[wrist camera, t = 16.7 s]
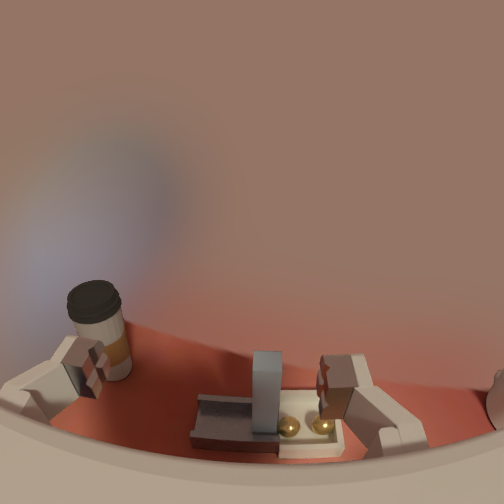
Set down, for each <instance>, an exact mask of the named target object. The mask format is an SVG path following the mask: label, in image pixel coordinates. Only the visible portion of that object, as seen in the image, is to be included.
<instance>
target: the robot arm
mask: <svg viewBox="0 0 504 504" xmlns="http://www.w3.org/2000/svg"><path fill="white" fill-rule="evenodd" d="M104 349H105V347H104V344H103V342H102V341H100V340H95V339H89V338H84V337H77V336H72V335H68V336H66V338H65V339H64V340H63V342H62V343H61V345H60V346H59V348H58V349H57V351H56V352H55V354H54V355H53V357H52V358H51V359H50V361H48V360H46V361H44V362H43V363H41V364H39V365H37V366H35V367H33V368H32V369H30V370H28V371H26V372H24V373H22V374H20V375H19V376H17V377H15V378H14V379H11V380H9V381H8V382H6V383H5V384H4V386H3V387H2V388H1V390H0V504H504V369H503V370H499V371H497V373H496V374H495V376H494V384H493V386H492V388H491V389H490V391H489V392H488V395H487V399H486V408H487V412H488V416H489V418H490V420H491V422H492V424H493V425H494V427H495V428H496V429H497V430H495V431H492V432H489V433H486V434H482V435H479V436H476V437H473V438H469V439H466V440H462V441H458V442H454V443H451V444H447V445H442V446H438V447H434V448H429V444H428V441H427V438H426V435H425V432H424V429H423V426H422V423H421V421H420V420H418V419H417V418H416V417H415V416H413V415H412V414H411V413H410V412H408V411H407V410H406V409H405V408H404V407H402V406H401V405H400V404H399V403H397V402H396V401H395V400H394V399H393V398H391V397H390V396H389V395H388V394H386V393H385V392H384V391H383V390H382V389H380V388H379V387H378V386H373V383H372V379H371V376H370V372H369V369H368V366H367V363H366V359H365V356H364V355H363V354H344V355H343V354H342V355H322V356H321V359H320V370H319V371H318V374H317V382H316V390H317V396H318V397H319V398H320V400H319V404H318V408H319V416H320V420H335V419H343V421H344V422H345V423H346V425H347V426H348V427H349V428H350V429H351V430H352V432H353V433H354V434H355V435H356V436H357V437H358V439H359V440H360V441H361V442H362V443H363V444H364V445H365V447H366V448H367V449H368V451H367V453H366V454H365V456H364V458H363V459H362V460H352V461H341V462H327V463H307V464H257V463H236V462H222V461H211V460H202V459H193V458H185V457H178V456H171V455H165V454H159V453H153V452H148V451H143V450H138V449H133V448H128V447H124V446H119V445H115V444H111V443H107V442H103V441H99V440H95V439H92V438H88V437H84V436H81V435H78V434H74V433H71V432H68V431H65V430H62V429H59V428H56V427H53V426H52V425H51V424H50V422H49V421H50V420H51V419H52V418H53V417H55V416H56V415H57V414H58V413H60V412H61V411H62V410H63V409H65V408H66V407H67V406H68V405H70V404H71V403H72V402H73V401H75V400H76V399H77V398H78V397H79V396H82V397H87V398H92V399H97V398H98V396H99V394H100V392H101V390H102V388H103V386H102V382H103V381H105V380H106V379H107V378H108V375H109V372H110V361H109V358H108V356H107V355H106V354H105V353H104V352H103V351H104Z"/></svg>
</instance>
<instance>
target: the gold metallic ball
mask: <svg viewBox="0 0 504 504" xmlns="http://www.w3.org/2000/svg"><path fill="white" fill-rule="evenodd" d="M311 426H312V430H313V431H314V432H315V433H316V434H318V435H327V434H329V433H330V432H331V431H332V430H333V428H334V420H320V416H319V415H317V416H316V417H315V418H314V419H313V421H312V424H311Z"/></svg>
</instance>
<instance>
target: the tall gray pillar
mask: <svg viewBox="0 0 504 504" xmlns="http://www.w3.org/2000/svg"><path fill="white" fill-rule="evenodd" d="M281 381H282V352H281V351H254V355H253V373H252V435H272V436H276V427H277V418H278V409H279V400H280V391H281Z"/></svg>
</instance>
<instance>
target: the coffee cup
mask: <svg viewBox="0 0 504 504" xmlns="http://www.w3.org/2000/svg"><path fill="white" fill-rule="evenodd" d="M67 301H68V302H67V309H68V314H69V317H70V319H72V321H73V323H74V325H75V328H76V330H77V333H78V335H79V337H84V338H89V339H95V340H100V341H102V342H103V344H104V347H105V349H104V351H103V352H104V353H105V354H106V355H107V356H108V358H109V361H110V372H109V375H108V378H107V379H106V380H108V381H118V380H121V379H124V378H125V377H126V376H128V374H129V373H130V371H131V368H132V360H131V355H130V348H129V344H128V339H127V334H126V329H125V324H124V318H123V316H122V310H121V299H120V297H119V293H118V291H117V290H116V289H115V288H114V286H113V284H111V283H110V282H108V281H104V280H93V281H88V282H85V283H82V284H80V285H78V286H77V287H75V288H74V289H72V290H71V292H70V293H69V294H68V297H67Z"/></svg>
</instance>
